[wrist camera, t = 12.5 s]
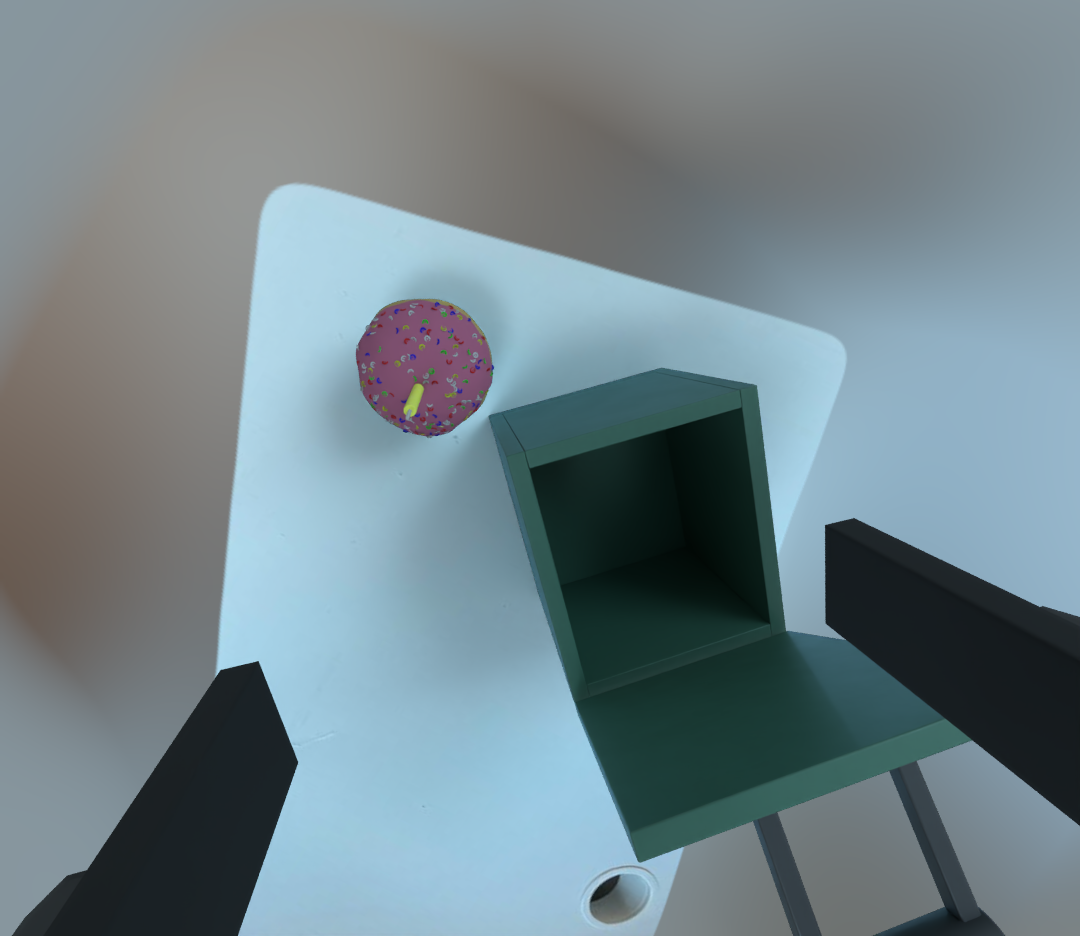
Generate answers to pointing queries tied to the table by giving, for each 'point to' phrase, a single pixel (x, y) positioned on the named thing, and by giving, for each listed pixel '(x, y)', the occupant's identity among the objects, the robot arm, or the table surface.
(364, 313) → the table surface
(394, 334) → the cupcake
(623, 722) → the cool box lid
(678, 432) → the cool box
